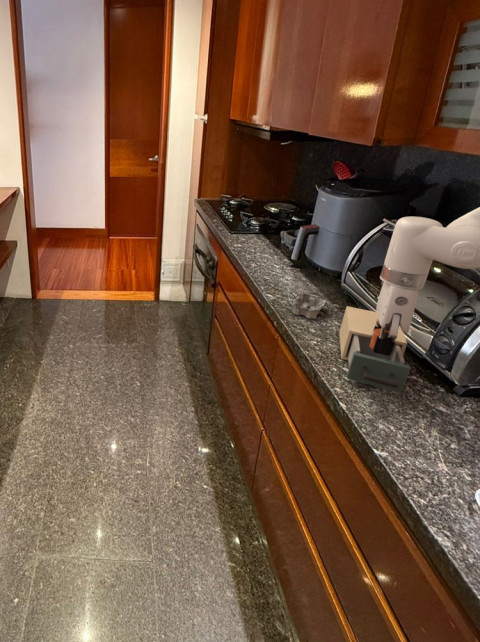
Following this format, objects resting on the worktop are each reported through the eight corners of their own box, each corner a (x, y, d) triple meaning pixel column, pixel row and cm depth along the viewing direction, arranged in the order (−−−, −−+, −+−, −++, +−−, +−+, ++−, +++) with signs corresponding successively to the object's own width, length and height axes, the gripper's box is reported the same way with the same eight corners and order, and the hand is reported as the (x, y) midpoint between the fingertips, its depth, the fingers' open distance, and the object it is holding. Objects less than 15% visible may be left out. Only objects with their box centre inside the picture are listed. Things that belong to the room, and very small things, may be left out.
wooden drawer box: (396, 372, 92) (407, 343, 89) (341, 358, 97) (349, 330, 94) (388, 343, 103) (397, 316, 100) (339, 332, 108) (346, 306, 105)
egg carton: (300, 300, 125) (302, 289, 123) (325, 308, 120) (328, 297, 118) (287, 312, 118) (290, 300, 116) (314, 321, 113) (317, 309, 111)
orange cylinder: (386, 344, 90) (391, 330, 88) (393, 355, 86) (398, 339, 85) (366, 341, 91) (371, 327, 89) (372, 351, 87) (376, 336, 86)
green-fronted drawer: (404, 406, 81) (414, 380, 78) (347, 389, 86) (355, 365, 83) (392, 361, 95) (400, 338, 92) (344, 349, 99) (350, 327, 96)
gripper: (435, 296, 73) (406, 374, 80) (417, 264, 87) (394, 333, 94) (387, 287, 76) (363, 363, 83) (377, 258, 90) (357, 326, 97)
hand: (380, 347), depth 88 cm, fingers closed on orange cylinder, 4 cm apart
